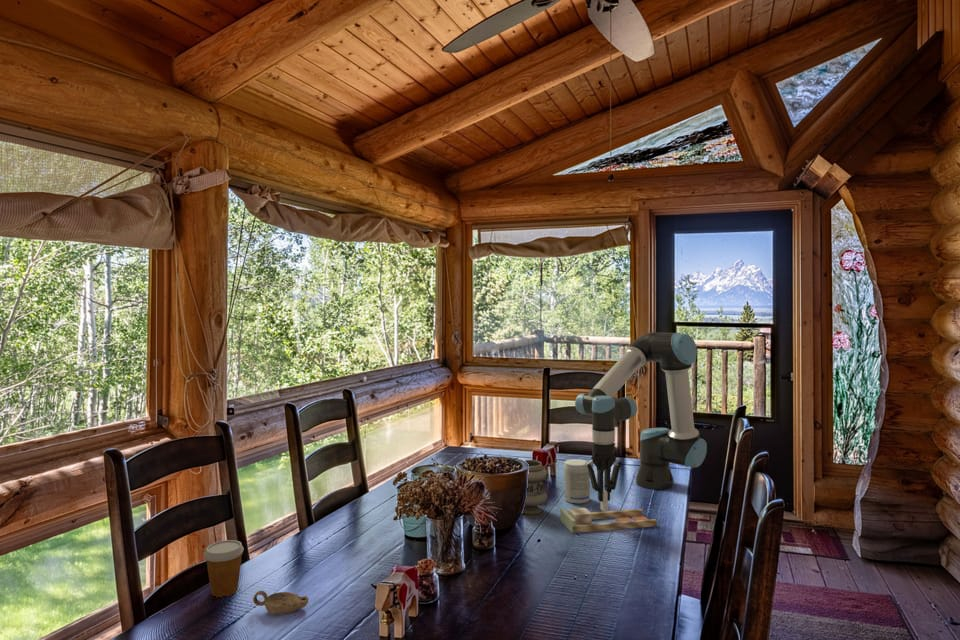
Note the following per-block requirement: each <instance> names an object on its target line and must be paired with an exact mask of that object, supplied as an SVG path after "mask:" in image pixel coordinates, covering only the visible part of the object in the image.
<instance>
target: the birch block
mask: <svg viewBox="0 0 960 640" xmlns="http://www.w3.org/2000/svg"><path fill="white" fill-rule="evenodd" d="M567 513H568V514H569V515H570V516H571V517H572V518H573V519H574V520H575V525H584V524H593V523H592V520H593V519H592V514H591V513H592V512H590V511H589V510H588V509H587V508H586V507H579V508H577V507H575V508H568V510H567Z"/></svg>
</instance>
